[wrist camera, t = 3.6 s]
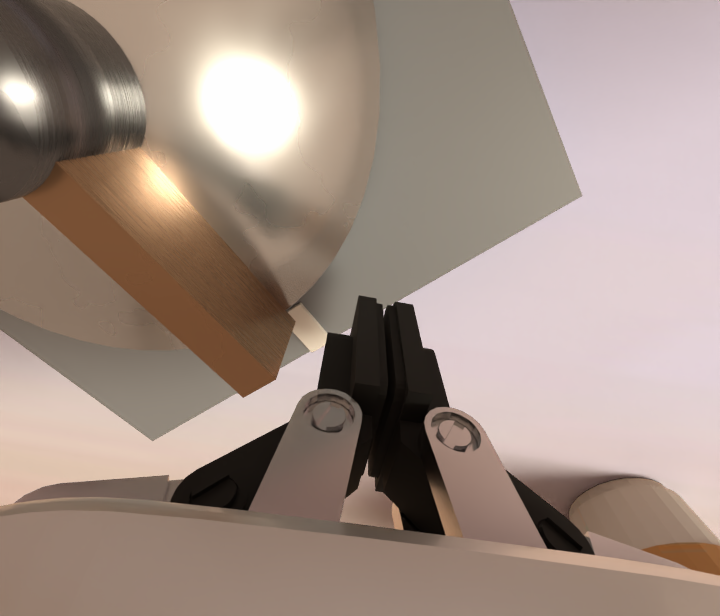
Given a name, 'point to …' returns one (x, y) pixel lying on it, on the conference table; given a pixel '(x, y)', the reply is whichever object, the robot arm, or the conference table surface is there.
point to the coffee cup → (648, 522)
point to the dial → (181, 168)
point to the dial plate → (382, 200)
